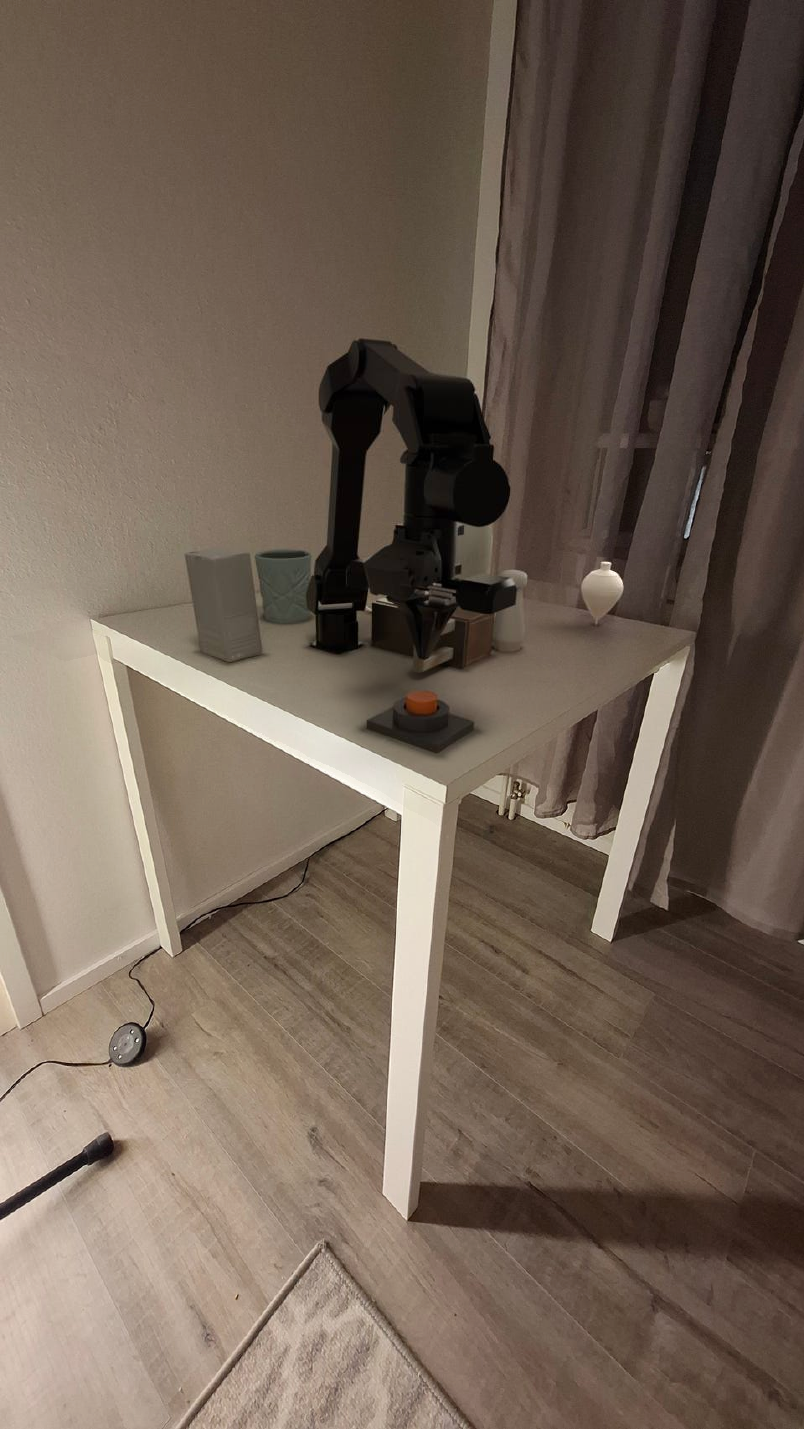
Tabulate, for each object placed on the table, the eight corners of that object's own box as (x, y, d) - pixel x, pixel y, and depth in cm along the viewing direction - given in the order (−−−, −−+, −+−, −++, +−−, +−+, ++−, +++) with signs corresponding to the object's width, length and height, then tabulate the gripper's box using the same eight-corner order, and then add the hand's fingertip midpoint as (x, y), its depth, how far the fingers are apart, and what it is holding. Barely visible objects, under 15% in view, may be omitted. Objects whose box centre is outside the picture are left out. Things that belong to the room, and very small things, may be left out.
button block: (366, 729, 73) (366, 706, 71) (405, 708, 79) (406, 687, 77) (437, 754, 67) (438, 729, 66) (473, 730, 73) (475, 707, 72)
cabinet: (465, 668, 94) (469, 619, 91) (375, 645, 103) (375, 600, 100) (490, 656, 100) (495, 609, 96) (403, 634, 109) (404, 592, 106)
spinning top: (584, 617, 124) (593, 557, 119) (621, 624, 120) (633, 562, 115) (569, 625, 119) (579, 562, 114) (608, 632, 115) (620, 567, 110)
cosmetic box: (263, 655, 96) (257, 552, 90) (223, 665, 91) (213, 557, 85) (233, 643, 101) (225, 544, 95) (193, 652, 96) (182, 549, 90)
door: (429, 685, 86) (432, 634, 83) (335, 658, 96) (335, 611, 93) (464, 668, 93) (468, 620, 90) (374, 644, 103) (374, 600, 100)
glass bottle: (468, 611, 126) (479, 463, 115) (494, 624, 118) (509, 466, 106) (424, 614, 122) (431, 462, 111) (448, 628, 114) (459, 465, 102)
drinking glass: (324, 618, 117) (322, 554, 112) (281, 628, 110) (278, 560, 105) (289, 608, 123) (287, 547, 118) (247, 617, 116) (243, 552, 111)
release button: (399, 710, 72) (400, 696, 71) (417, 701, 74) (418, 687, 74) (425, 718, 70) (426, 704, 69) (442, 709, 72) (443, 695, 72)
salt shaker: (523, 656, 100) (532, 575, 95) (487, 652, 101) (495, 573, 96) (523, 645, 105) (532, 569, 100) (490, 642, 106) (497, 566, 101)
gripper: (309, 511, 62) (313, 658, 68) (469, 531, 52) (456, 700, 59) (378, 505, 70) (375, 636, 77) (527, 521, 60) (510, 670, 67)
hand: (423, 658), depth 69 cm, fingers closed
